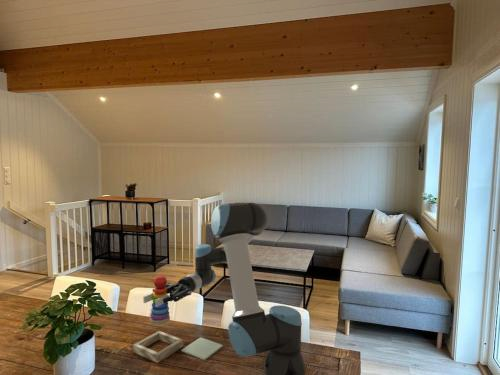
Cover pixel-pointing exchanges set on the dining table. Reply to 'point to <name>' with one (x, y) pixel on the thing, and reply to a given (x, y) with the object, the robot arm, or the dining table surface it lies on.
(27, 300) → the dining table surface
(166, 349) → the birch holder
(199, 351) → the sage mat
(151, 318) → the stacking toy
